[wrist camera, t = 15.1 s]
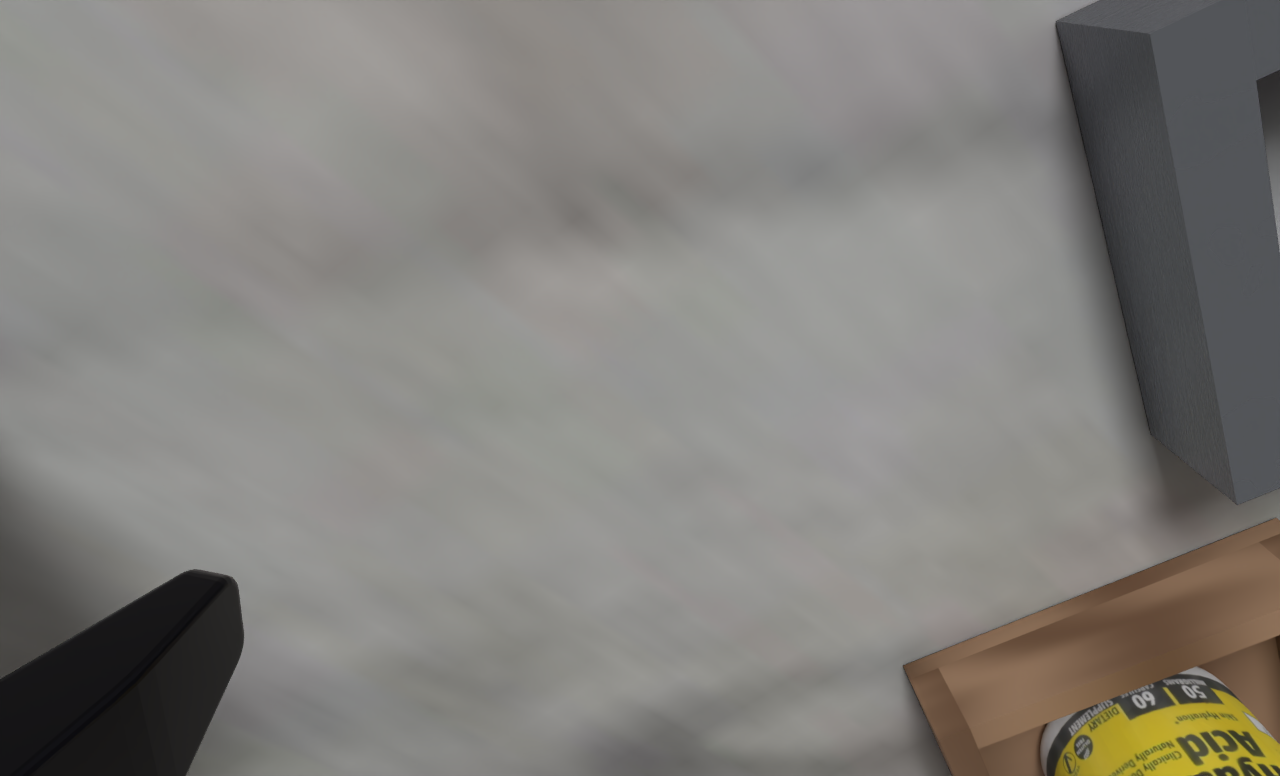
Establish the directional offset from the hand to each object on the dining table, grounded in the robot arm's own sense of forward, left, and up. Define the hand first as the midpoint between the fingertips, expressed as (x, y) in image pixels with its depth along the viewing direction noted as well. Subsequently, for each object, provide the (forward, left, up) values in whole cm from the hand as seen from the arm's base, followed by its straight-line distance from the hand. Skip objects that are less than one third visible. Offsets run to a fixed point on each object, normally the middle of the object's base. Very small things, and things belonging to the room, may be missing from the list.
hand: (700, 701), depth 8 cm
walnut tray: (+7, -18, -11) cm, 22 cm away
